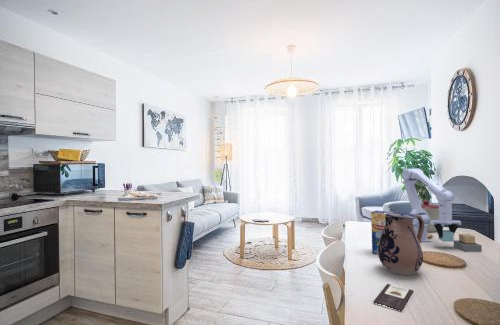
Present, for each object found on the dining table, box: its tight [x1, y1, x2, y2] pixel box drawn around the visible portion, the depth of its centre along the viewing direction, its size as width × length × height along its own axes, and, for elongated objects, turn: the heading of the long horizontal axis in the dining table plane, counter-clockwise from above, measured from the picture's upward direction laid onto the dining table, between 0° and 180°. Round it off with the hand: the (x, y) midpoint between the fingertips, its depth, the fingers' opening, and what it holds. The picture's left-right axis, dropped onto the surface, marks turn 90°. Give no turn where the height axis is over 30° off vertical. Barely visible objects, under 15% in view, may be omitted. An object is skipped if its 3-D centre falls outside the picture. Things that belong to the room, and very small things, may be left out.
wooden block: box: [458, 233, 476, 245], centre depth 148 cm, size 5×5×7 cm
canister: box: [417, 199, 439, 233], centre depth 189 cm, size 18×18×21 cm
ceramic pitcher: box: [378, 212, 424, 276], centre depth 121 cm, size 18×21×25 cm
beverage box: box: [370, 210, 398, 255], centre depth 143 cm, size 7×11×22 cm, turn 45°
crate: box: [453, 239, 483, 253], centre depth 148 cm, size 9×9×4 cm
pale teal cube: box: [438, 229, 455, 243], centre depth 150 cm, size 5×5×5 cm
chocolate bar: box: [372, 283, 414, 311], centre depth 98 cm, size 9×1×18 cm
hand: (445, 237), depth 150 cm, fingers closed on pale teal cube, 5 cm apart
